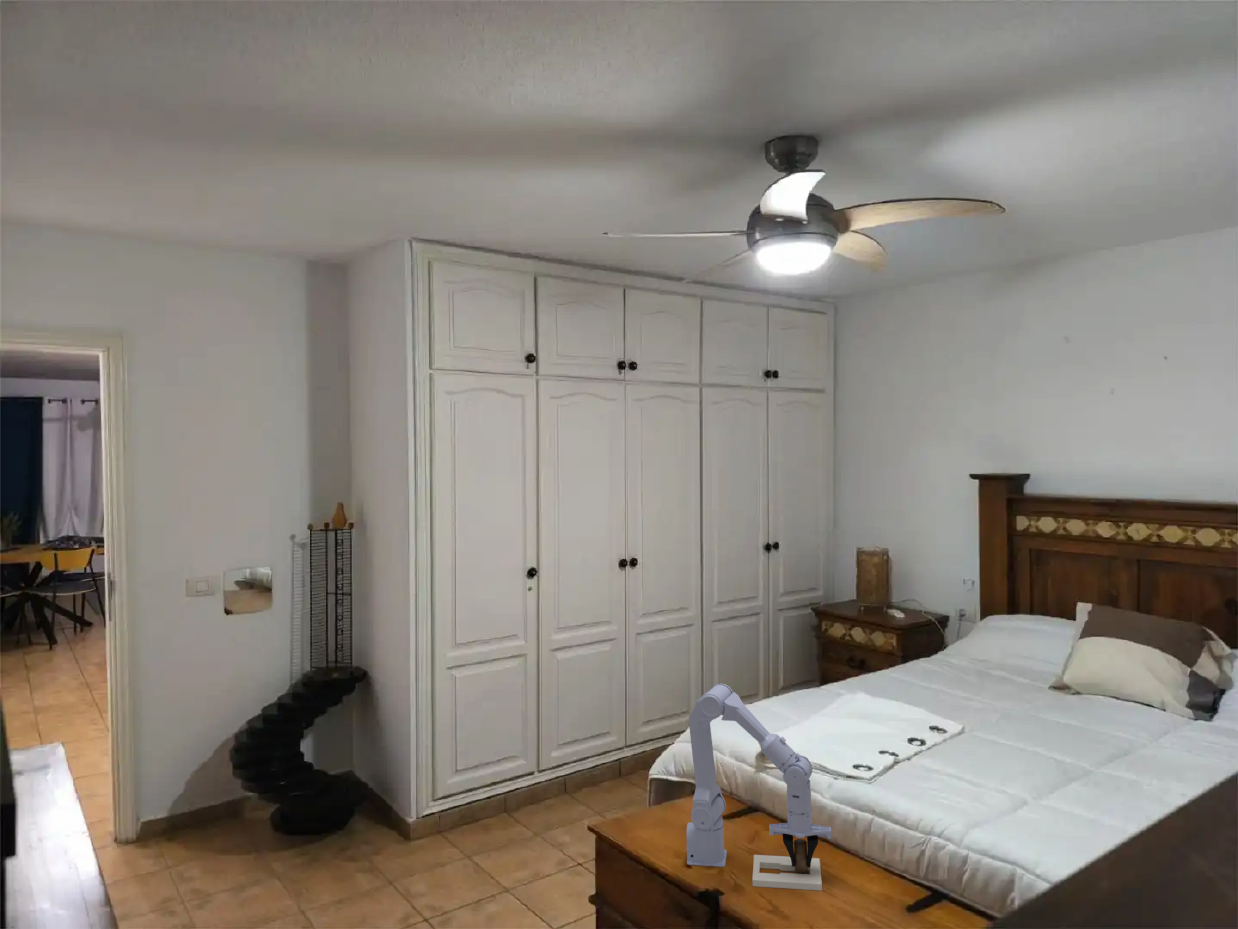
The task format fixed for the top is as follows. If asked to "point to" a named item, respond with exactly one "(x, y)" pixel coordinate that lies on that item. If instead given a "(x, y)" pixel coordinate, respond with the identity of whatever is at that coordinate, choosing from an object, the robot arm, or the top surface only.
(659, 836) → the top surface
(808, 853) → the robot arm
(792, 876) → the keyhole plate
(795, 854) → the peg
